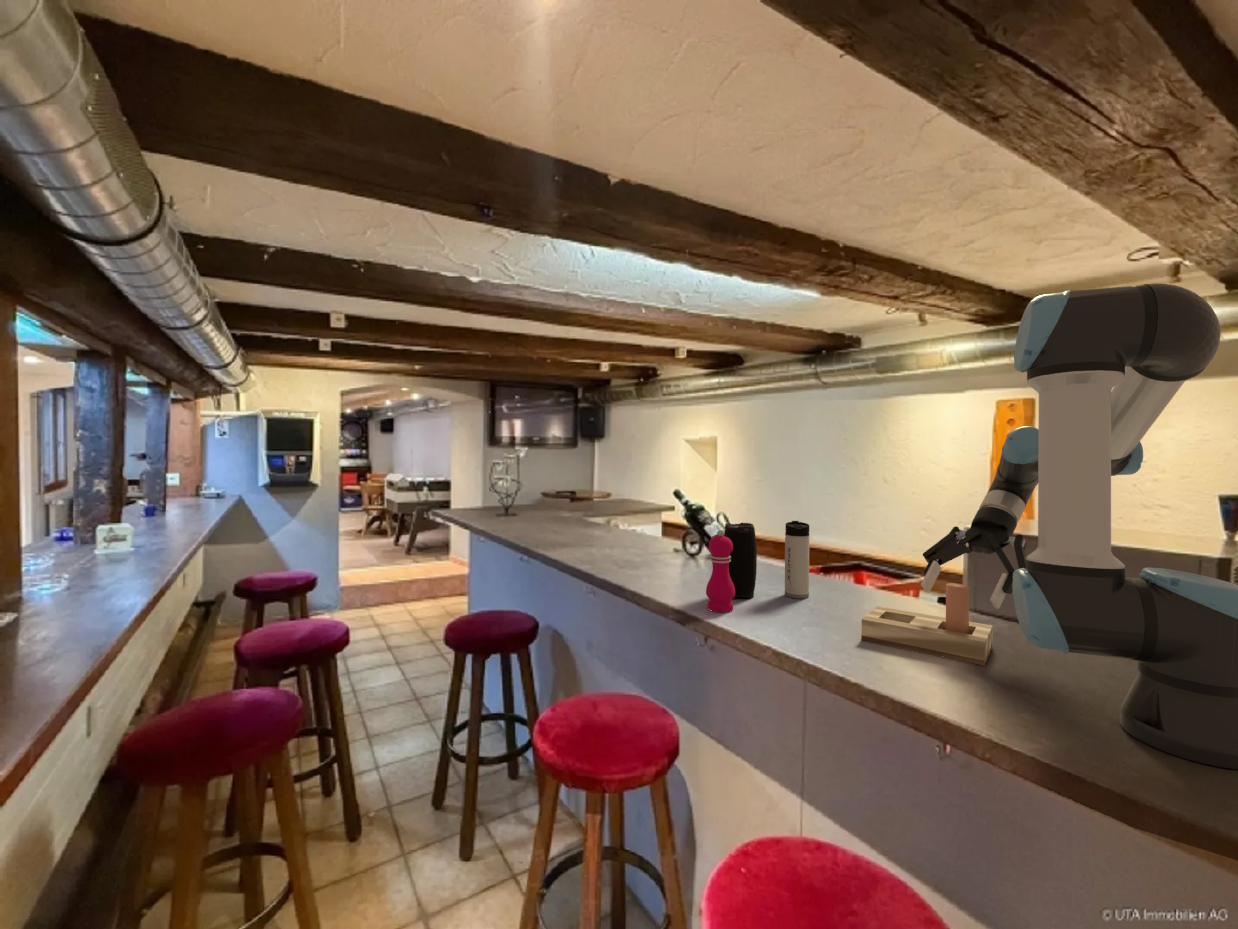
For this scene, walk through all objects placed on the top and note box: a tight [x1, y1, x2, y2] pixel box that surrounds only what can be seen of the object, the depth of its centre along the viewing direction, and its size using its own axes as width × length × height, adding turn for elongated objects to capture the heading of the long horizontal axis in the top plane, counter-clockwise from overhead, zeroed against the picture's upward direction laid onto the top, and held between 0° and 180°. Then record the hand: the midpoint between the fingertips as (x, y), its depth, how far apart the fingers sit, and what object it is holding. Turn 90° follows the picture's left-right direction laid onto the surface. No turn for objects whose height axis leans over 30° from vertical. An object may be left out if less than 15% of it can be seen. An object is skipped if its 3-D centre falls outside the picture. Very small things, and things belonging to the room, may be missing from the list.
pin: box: [945, 582, 970, 634], centre depth 114 cm, size 4×4×12 cm
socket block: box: [860, 605, 994, 666], centre depth 118 cm, size 12×22×4 cm, turn 51°
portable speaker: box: [724, 522, 758, 600], centre depth 154 cm, size 9×9×20 cm
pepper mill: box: [705, 529, 735, 613], centre depth 142 cm, size 7×7×20 cm
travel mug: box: [784, 520, 810, 600], centre depth 154 cm, size 6×7×20 cm
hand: (957, 596), depth 115 cm, fingers open, 13 cm apart
